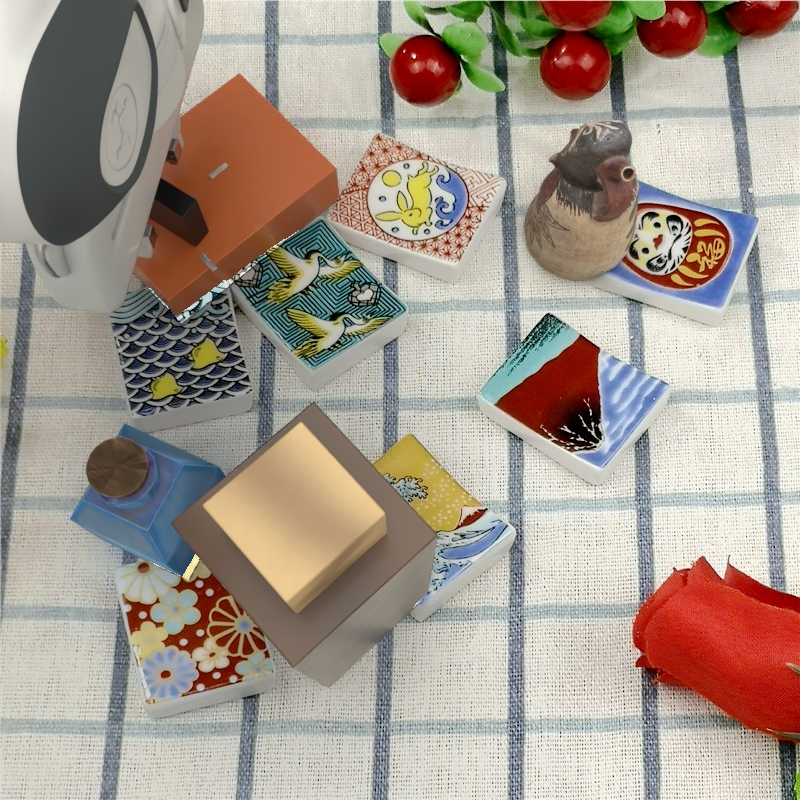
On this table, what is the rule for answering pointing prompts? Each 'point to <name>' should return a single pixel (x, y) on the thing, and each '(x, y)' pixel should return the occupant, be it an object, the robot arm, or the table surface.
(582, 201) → the figurine
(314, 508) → the wood block
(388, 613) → the block
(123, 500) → the perfume bottle
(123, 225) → the robot arm
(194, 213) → the black battery block
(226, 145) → the block
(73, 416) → the table surface
